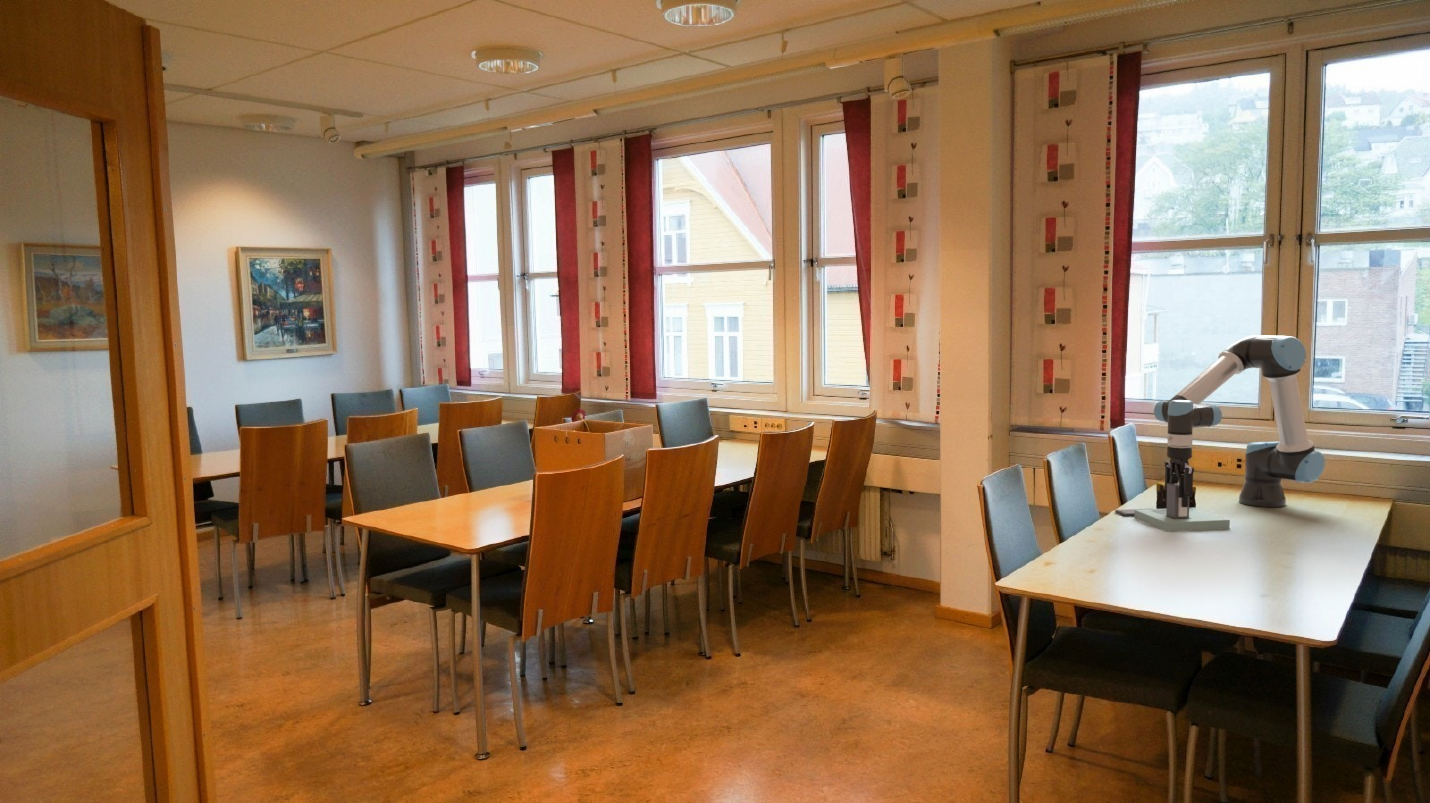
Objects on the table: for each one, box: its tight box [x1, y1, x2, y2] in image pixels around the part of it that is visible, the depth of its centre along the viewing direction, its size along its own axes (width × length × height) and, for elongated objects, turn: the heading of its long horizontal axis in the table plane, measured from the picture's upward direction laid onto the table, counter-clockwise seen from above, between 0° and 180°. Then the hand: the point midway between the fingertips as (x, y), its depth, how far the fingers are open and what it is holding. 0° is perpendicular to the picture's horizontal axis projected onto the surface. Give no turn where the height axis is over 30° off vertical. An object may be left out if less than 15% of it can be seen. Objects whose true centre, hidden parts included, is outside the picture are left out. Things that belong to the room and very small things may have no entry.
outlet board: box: [1134, 507, 1231, 532], centre depth 325 cm, size 22×20×3 cm
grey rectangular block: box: [1166, 483, 1189, 519], centre depth 321 cm, size 5×5×12 cm
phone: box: [1114, 508, 1145, 518], centre depth 340 cm, size 14×7×1 cm, turn 95°
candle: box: [1155, 481, 1197, 509], centre depth 343 cm, size 10×10×10 cm
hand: (1177, 514), depth 321 cm, fingers closed on grey rectangular block, 5 cm apart
